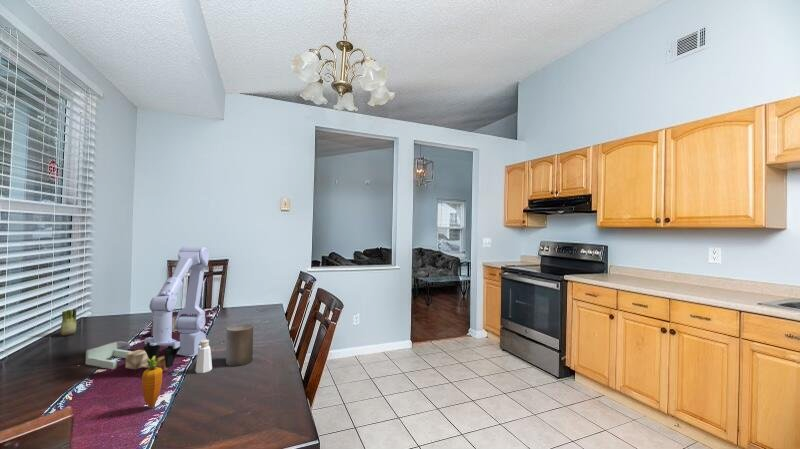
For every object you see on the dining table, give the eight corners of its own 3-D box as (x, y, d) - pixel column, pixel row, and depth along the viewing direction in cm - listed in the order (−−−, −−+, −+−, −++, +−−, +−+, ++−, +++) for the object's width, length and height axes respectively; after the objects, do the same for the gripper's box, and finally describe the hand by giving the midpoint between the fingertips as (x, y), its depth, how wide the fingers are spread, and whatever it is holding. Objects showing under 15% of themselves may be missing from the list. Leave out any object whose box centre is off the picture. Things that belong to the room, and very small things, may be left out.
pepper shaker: (215, 368, 126) (216, 339, 126) (202, 374, 121) (203, 343, 121) (204, 366, 127) (205, 337, 128) (191, 372, 122) (192, 341, 122)
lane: (140, 359, 133) (141, 346, 133) (113, 369, 123) (113, 355, 123) (114, 354, 136) (114, 342, 136) (85, 364, 127) (86, 350, 127)
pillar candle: (258, 359, 135) (259, 321, 136) (237, 368, 126) (238, 328, 127) (241, 355, 139) (241, 318, 140) (219, 363, 131) (220, 324, 131)
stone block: (82, 362, 133) (101, 359, 131) (81, 349, 134) (100, 347, 131) (114, 352, 145) (132, 350, 142) (113, 341, 145) (131, 339, 143)
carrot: (148, 403, 100) (149, 353, 100) (165, 403, 101) (167, 353, 101) (136, 412, 95) (138, 359, 96) (154, 412, 96) (156, 359, 96)
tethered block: (170, 368, 125) (170, 354, 125) (157, 373, 120) (157, 359, 120) (139, 362, 129) (139, 349, 130) (125, 367, 125) (126, 354, 125)
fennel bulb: (75, 332, 162) (76, 307, 162) (78, 334, 159) (79, 309, 159) (58, 335, 157) (59, 309, 158) (60, 337, 155) (61, 311, 155)
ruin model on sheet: (154, 338, 158) (155, 317, 158) (151, 337, 160) (152, 316, 160) (180, 332, 168) (180, 312, 168) (176, 331, 169) (177, 311, 170)
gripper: (136, 329, 121) (135, 366, 121) (167, 333, 117) (166, 372, 117) (155, 323, 128) (154, 359, 128) (185, 327, 124) (184, 364, 124)
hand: (161, 365), depth 123 cm, fingers open, 7 cm apart
